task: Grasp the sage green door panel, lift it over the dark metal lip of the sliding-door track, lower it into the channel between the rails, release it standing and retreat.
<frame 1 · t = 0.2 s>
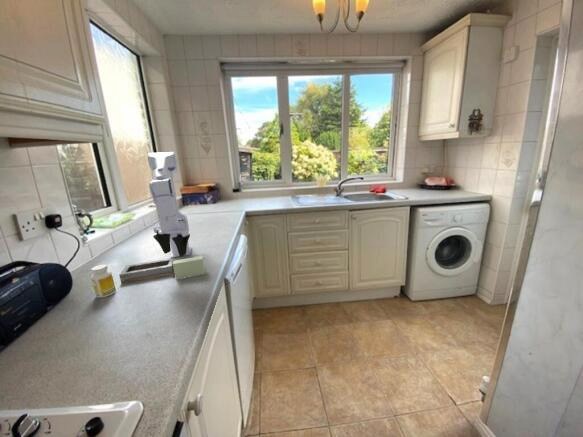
hand: (175, 253, 87), 10 cm above the worktop, tool pointing down, fingers open, 7 cm apart
door panel: (191, 274, 93), on the worktop
door track: (150, 273, 95), on the worktop
supplement bottle: (106, 294, 83), on the worktop
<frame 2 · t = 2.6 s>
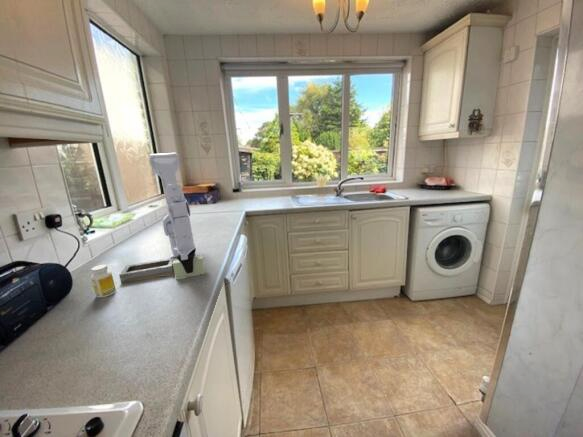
hand: (190, 270, 92), 2 cm above the worktop, tool pointing down, fingers closed on door panel, 3 cm apart
door panel: (190, 274, 93), on the worktop, touching gripper
everything else where it was.
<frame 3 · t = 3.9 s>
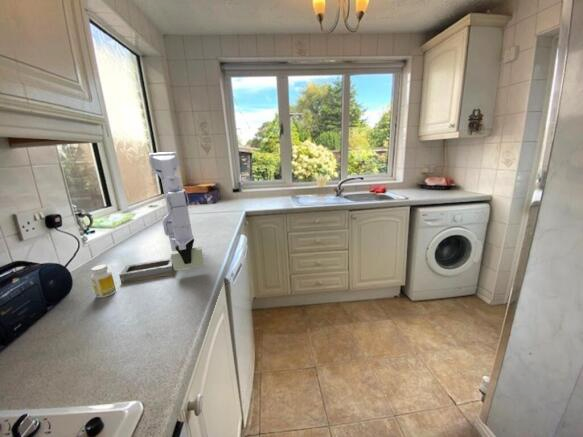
hand: (188, 261, 91), 5 cm above the worktop, tool pointing down, fingers closed on door panel, 3 cm apart
door panel: (189, 265, 92), point 3 cm above the worktop, touching gripper
everything else where it was.
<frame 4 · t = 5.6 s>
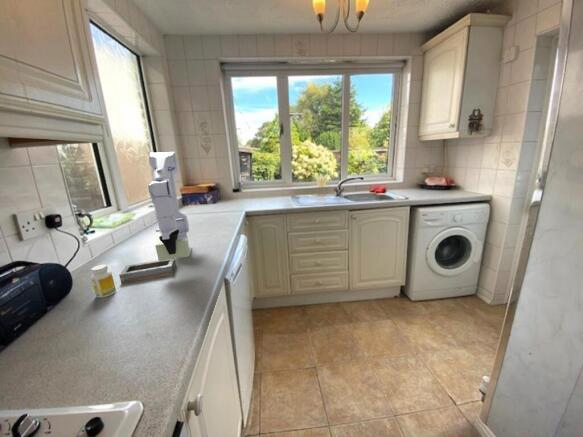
hand: (173, 252, 91), 9 cm above the worktop, tool pointing down, fingers closed on door panel, 3 cm apart
door panel: (174, 257, 92), point 7 cm above the worktop, touching gripper
everything else where it was.
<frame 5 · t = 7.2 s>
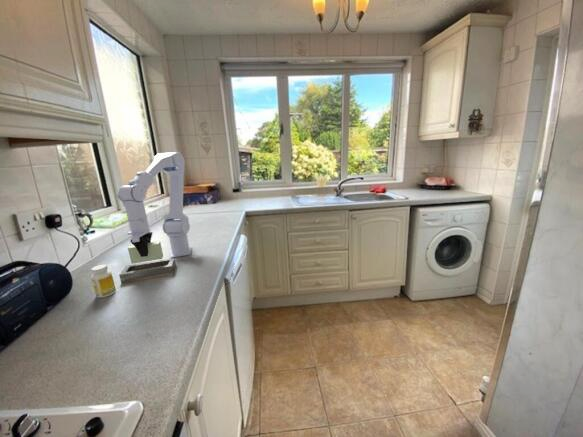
hand: (145, 254, 93), 8 cm above the worktop, tool pointing down, fingers closed on door panel, 3 cm apart
door panel: (147, 259, 94), point 6 cm above the worktop, touching gripper
everything else where it was.
when the fingers open (4 cm above the worktop, at t = 8.6 s): door panel drops 1 cm, resting on door track.
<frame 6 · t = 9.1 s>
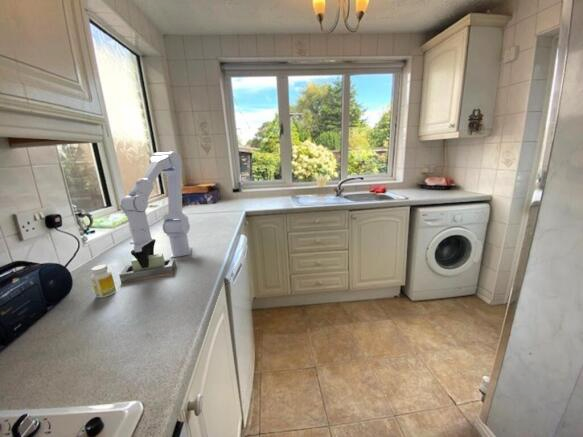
hand: (148, 263, 94), 4 cm above the worktop, tool pointing down, fingers open, 7 cm apart
door panel: (150, 271, 95), point 1 cm above the worktop, touching door track
everything else where it was.
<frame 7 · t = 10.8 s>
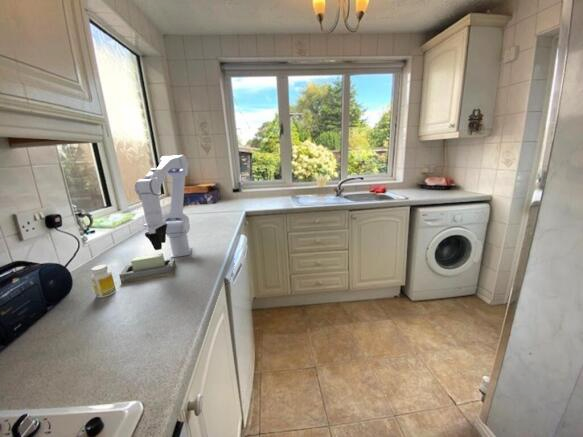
hand: (160, 246, 97), 9 cm above the worktop, tool pointing down, fingers open, 7 cm apart
nothing on the worktop moved.
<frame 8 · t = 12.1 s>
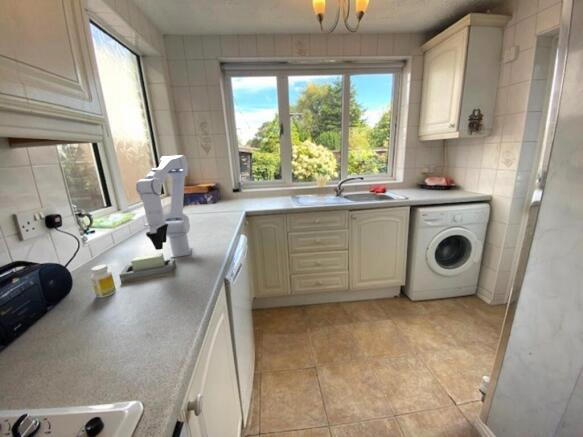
hand: (161, 245, 97), 9 cm above the worktop, tool pointing down, fingers open, 7 cm apart
nothing on the worktop moved.
at the end: door panel 0.2 cm off-centre on the door track, point 0.8 cm above the door track's base; door panel tilted 0°; the gripper is holding nothing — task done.
